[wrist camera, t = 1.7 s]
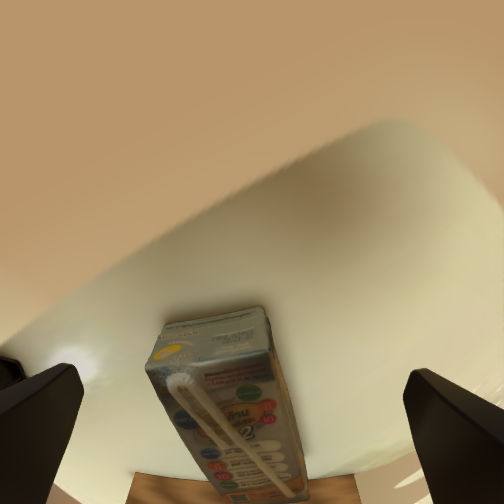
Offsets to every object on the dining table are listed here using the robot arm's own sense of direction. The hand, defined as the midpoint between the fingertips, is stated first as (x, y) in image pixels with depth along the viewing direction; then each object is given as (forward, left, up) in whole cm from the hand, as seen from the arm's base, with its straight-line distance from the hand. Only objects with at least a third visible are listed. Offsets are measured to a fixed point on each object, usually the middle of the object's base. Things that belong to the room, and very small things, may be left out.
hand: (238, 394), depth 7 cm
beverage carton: (0, -14, -14) cm, 20 cm away
